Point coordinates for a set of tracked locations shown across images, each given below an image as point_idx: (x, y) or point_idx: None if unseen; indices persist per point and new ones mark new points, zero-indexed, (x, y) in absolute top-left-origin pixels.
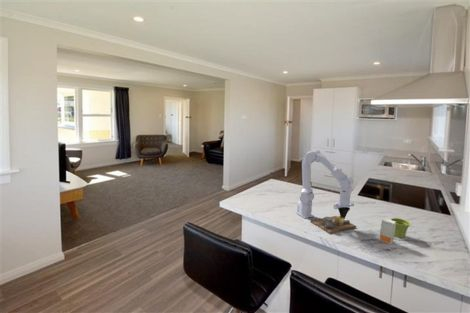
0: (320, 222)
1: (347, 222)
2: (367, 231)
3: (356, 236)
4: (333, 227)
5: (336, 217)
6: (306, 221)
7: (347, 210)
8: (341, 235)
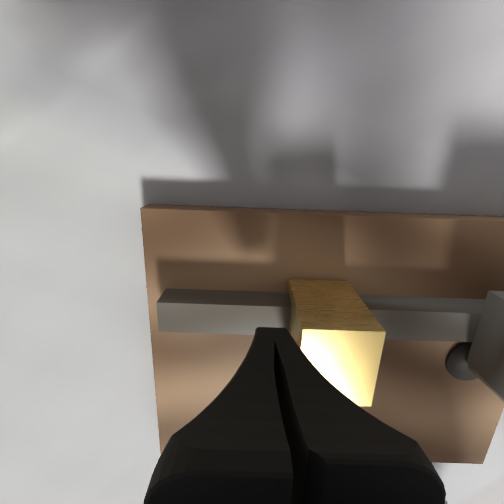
0: (440, 408)
1: (196, 297)
2: (83, 75)
3: (333, 29)
4: (429, 282)
5: (370, 385)
6: (484, 467)
7: (264, 430)
8: (471, 130)
